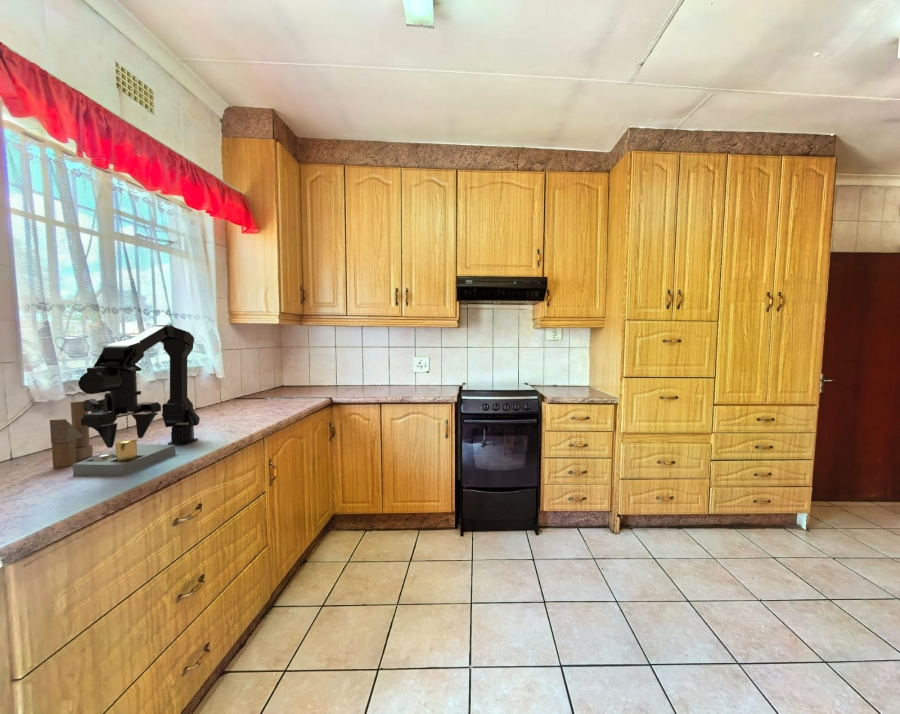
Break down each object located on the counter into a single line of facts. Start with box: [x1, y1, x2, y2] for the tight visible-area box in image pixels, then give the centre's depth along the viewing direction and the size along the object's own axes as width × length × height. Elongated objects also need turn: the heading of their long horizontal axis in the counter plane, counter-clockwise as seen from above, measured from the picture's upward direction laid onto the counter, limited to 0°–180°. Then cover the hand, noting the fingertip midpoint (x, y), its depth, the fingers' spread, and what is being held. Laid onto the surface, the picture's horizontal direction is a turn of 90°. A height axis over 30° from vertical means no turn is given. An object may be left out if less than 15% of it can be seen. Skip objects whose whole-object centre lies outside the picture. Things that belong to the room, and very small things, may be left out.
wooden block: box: [49, 399, 94, 469], centre depth 107 cm, size 4×11×18 cm, turn 17°
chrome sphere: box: [91, 452, 114, 462], centre depth 102 cm, size 4×4×4 cm
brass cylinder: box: [115, 438, 137, 462], centre depth 101 cm, size 4×4×8 cm
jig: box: [72, 443, 177, 477], centre depth 106 cm, size 18×14×3 cm
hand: (125, 442), depth 101 cm, fingers open, 9 cm apart
